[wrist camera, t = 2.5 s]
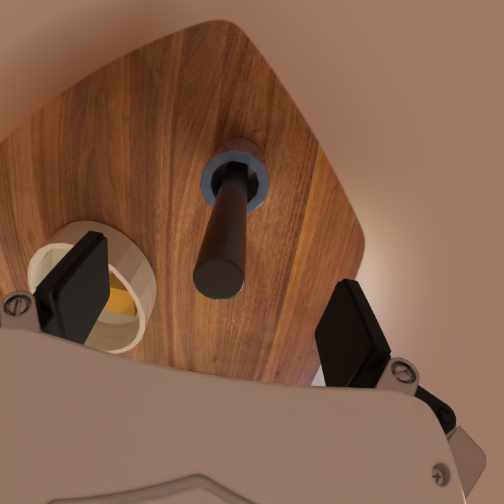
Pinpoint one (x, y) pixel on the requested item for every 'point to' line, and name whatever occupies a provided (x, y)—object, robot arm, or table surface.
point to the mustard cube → (120, 298)
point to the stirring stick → (225, 238)
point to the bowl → (120, 263)
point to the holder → (237, 152)
